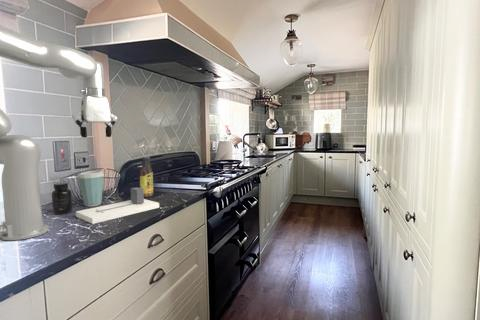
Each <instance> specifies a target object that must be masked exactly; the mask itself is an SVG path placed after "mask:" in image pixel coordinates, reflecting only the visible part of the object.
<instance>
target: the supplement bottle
mask: <svg viewBox="0 0 480 320" xmlns="http://www.w3.org/2000/svg"><path fill="white" fill-rule="evenodd" d="M53 189H54V190H53V191H51V201H52V202H51V203H52V213H53V214H54V215H57V216H61V215H68V214H71V213H72V212H73V211H74V210H73V195H72V190H71V189H69V182H64V181H63V182H55V183H53Z"/></svg>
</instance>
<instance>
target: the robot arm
mask: <svg viewBox="0 0 480 320" xmlns="http://www.w3.org/2000/svg"><path fill="white" fill-rule="evenodd" d="M0 58H4V59H7V60H11V61H13V62H17V63H20V64H24V65H28V66H30V67H36V68H46V69H47V68H49V69H50V68H51V69H54V68H55V69H58V71H59V72H60V74H61V75H62V76H63V77H65V78H68V79H81V80H82V85H83V86H82V87H83V88H82V89H80V90H79V93H80V94H83V96H82V98H81V101H80V102H81V104H80V111H79V112H76V113H75V114H72V116H71V118H72V120H73V121H74V123H75V124H76V125H77V126H78V127H79V132H80V133H79V134H80V136H81V138H87V137H88V133H87V132H88V131H87V130H88V129H87V127H86V125H87V124H89V123H99V124H100V123H103V124H104V125H105V126H106V127H105V137H106V138H111V137H112V135H113V132H112V131H113V130H112V128H113V126H114V125H115V124H116V121H117V120H118V117H117V116H116V115H114V114H113V113H111V108H110V104H109V99H108V97H106V90H105V71H104V65H103V63H102V62H100V61H96V60H95V59H94V58H93V56H92V55H90V54H88V53H85V52H82V51H81V50H78V49H75V48H72V47H68V46H64V45H60V44H54V43H52V42H49V41H48V42H47V41H43V40H39V39H36V38H33V37H30V36H28V35H26V34H22V33H20V32H17V31H15V30H12V29H9V28H7V27H4V26H2V25H0ZM79 117H80V119H79ZM80 120H81V121H80ZM12 127H13V126H12V120H11V119H10V117H9V116H8V115H7V114H6V113H5V112H4V110H2V109H1V108H0V165H3V168H2V173H1V189H2V190H1V191H2V199H3V201H2V202H3V209H4V211H3V212H4V221H2V223H1V224H0V239H1V240H4V241H18V240H27V239H31V238H36V237H38V236H42V235H43V234H46V233H47V232H48V231H49V229H50V228H49V225H48V224H44V223H43V212H42V211H43V210H42V199H41V198H42V197H41V196H42V195H41V194H42V193H41V186H40V185H41V184H40V162H41V157H42V156H41V154H42V151H41V150H42V149H41V147H40V144H39V143H38V142H37V141H36V140H35V139H34V138H32V137H30V136H27V135H23V134H9V133H10V132H11V131H12Z"/></svg>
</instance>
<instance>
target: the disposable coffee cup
mask: <svg viewBox="0 0 480 320" xmlns="http://www.w3.org/2000/svg"><path fill="white" fill-rule="evenodd" d="M104 177H105V173H104V172H103V170H97V169H96V170H89V171H84V172H80V173H79V174H78V175H77V181H78V183H79V184H78V185H79V189H80V193H81V197H82V201H83V205H84V206H85V207H88V208H89V207H91V208H92V207H99V206H101V204H102V199H103V190H104V189H103V187H104Z"/></svg>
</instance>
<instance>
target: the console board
mask: <svg viewBox="0 0 480 320" xmlns="http://www.w3.org/2000/svg"><path fill="white" fill-rule="evenodd" d="M158 208H160V202H157V201H153V200H149V199H145V198H144V203H140V204H136V203H132V202H131V199H130V200H125V201H120V202H116V203H111V204H107V205H106V204H105V205H99V206H94V207H91V208H86V209H82V210H77V211H75V217H76V218H78V219H80V220H82V221H85V222H88V223H90V224H92V225H93V224H97V223H98V224H99V223H102V222H106V221H110V220H114V219H118V218H123V217H127V216H130V215H134V214H138V213H142V212H147V211H150V210H151V211H152V210H155V209H158Z"/></svg>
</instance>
